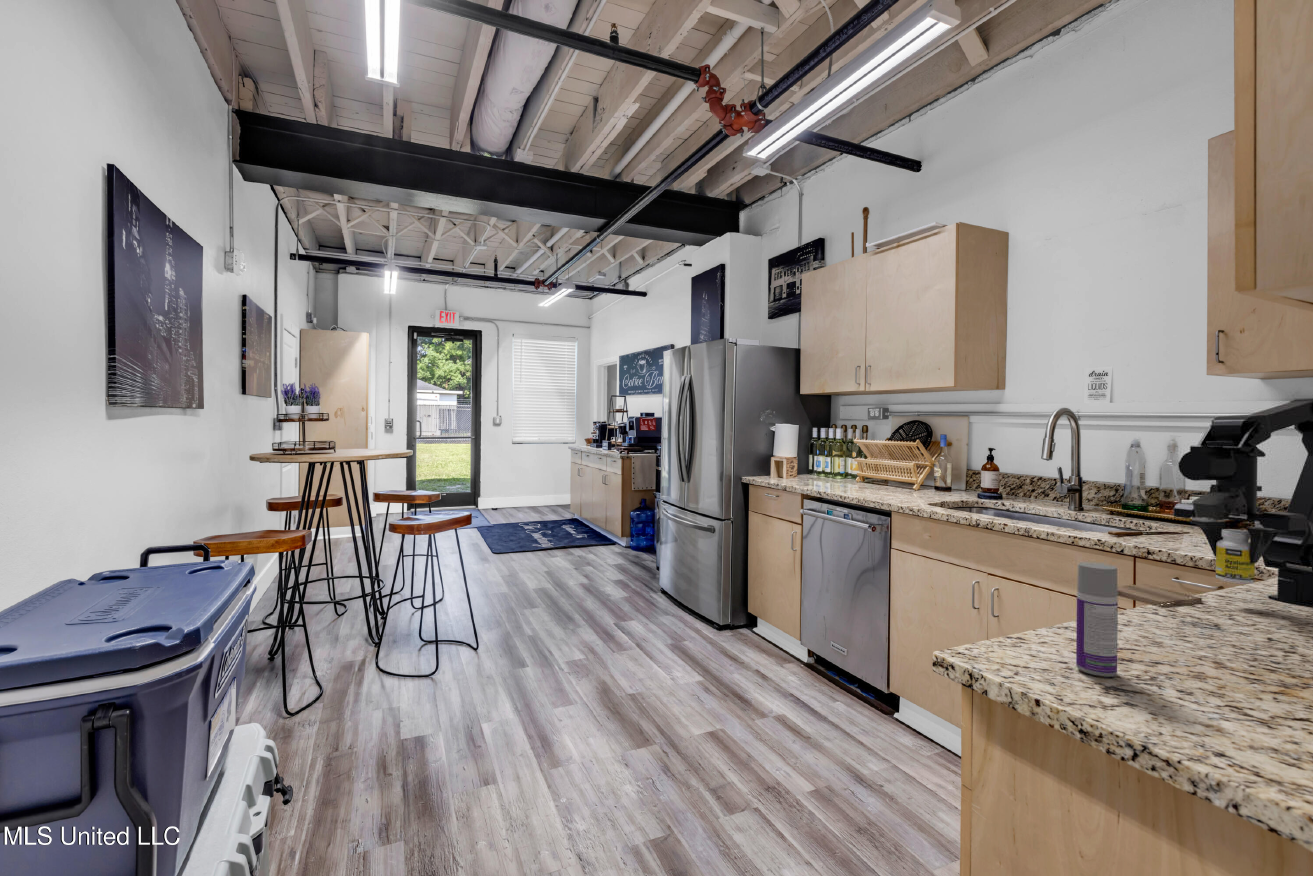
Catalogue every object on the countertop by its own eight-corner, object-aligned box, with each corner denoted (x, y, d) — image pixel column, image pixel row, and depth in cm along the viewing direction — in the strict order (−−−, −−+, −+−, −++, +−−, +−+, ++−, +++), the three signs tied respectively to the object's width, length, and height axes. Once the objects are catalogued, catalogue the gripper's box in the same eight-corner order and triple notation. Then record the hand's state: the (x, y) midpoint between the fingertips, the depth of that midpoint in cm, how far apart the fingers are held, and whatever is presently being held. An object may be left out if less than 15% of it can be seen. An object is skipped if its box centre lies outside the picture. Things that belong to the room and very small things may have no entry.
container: (1077, 661, 87) (1078, 560, 87) (1117, 669, 84) (1118, 565, 84) (1074, 670, 83) (1075, 566, 83) (1116, 679, 80) (1117, 571, 80)
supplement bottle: (1221, 582, 113) (1222, 531, 113) (1211, 576, 117) (1211, 527, 117) (1260, 585, 110) (1260, 533, 110) (1247, 579, 115) (1248, 529, 115)
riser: (1144, 591, 128) (1144, 584, 128) (1201, 606, 117) (1202, 598, 117) (1104, 594, 125) (1105, 587, 125) (1160, 609, 114) (1160, 601, 114)
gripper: (1153, 477, 121) (1152, 552, 121) (1267, 485, 103) (1266, 573, 103) (1193, 476, 124) (1192, 550, 124) (1310, 483, 105) (1309, 570, 106)
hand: (1235, 559), depth 114 cm, fingers closed on supplement bottle, 5 cm apart
